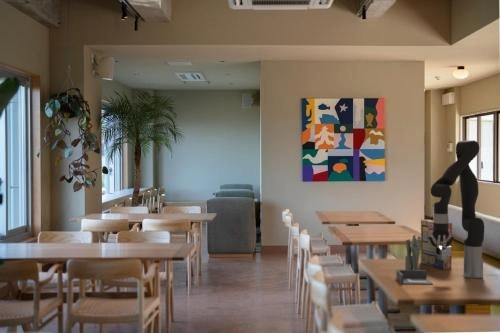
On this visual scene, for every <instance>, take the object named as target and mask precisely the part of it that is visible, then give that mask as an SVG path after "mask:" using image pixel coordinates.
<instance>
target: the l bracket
mask: <svg viewBox="0 0 500 333" xmlns="http://www.w3.org/2000/svg"><path fill="white" fill-rule="evenodd" d="M439 248H440V255H438V254H437V256H438V257H439V258H440V259H441V260H445V258H446V256H451V257H452V253H451V246H449V247H446V248H445V249H443V248H442V246H439Z"/></svg>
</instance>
